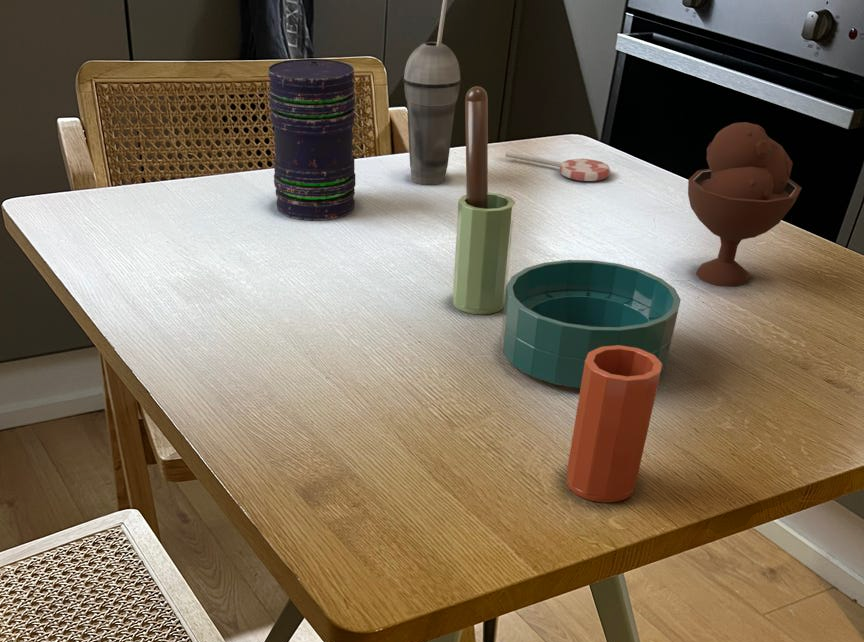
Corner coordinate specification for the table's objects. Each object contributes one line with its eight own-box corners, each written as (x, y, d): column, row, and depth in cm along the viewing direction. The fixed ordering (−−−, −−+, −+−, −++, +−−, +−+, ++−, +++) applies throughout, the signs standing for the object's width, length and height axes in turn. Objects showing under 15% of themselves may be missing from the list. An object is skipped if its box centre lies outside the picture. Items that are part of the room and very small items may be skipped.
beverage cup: (405, 168, 130) (409, -8, 117) (458, 172, 129) (469, -5, 116) (396, 186, 125) (399, 3, 111) (452, 189, 124) (462, 6, 111)
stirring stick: (489, 295, 98) (489, 84, 86) (485, 302, 97) (484, 88, 85) (470, 294, 99) (468, 84, 87) (465, 301, 98) (462, 89, 85)
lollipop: (517, 144, 135) (618, 163, 129) (516, 152, 136) (616, 171, 130) (495, 156, 131) (598, 176, 125) (494, 164, 132) (597, 185, 126)
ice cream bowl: (739, 305, 99) (782, 146, 89) (649, 273, 105) (679, 120, 95) (794, 278, 104) (839, 125, 94) (705, 249, 110) (739, 102, 100)
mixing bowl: (673, 334, 94) (687, 272, 90) (655, 407, 83) (670, 341, 79) (520, 311, 97) (526, 251, 93) (483, 379, 86) (488, 314, 82)
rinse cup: (509, 297, 100) (519, 195, 93) (497, 317, 96) (507, 213, 89) (460, 290, 101) (467, 189, 94) (447, 310, 97) (453, 206, 90)
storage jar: (352, 222, 115) (350, 80, 105) (270, 219, 115) (260, 78, 105) (359, 194, 122) (358, 59, 112) (281, 191, 123) (274, 57, 113)
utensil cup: (638, 472, 75) (665, 351, 69) (629, 508, 72) (657, 384, 65) (572, 460, 76) (592, 340, 70) (560, 495, 73) (580, 372, 66)
